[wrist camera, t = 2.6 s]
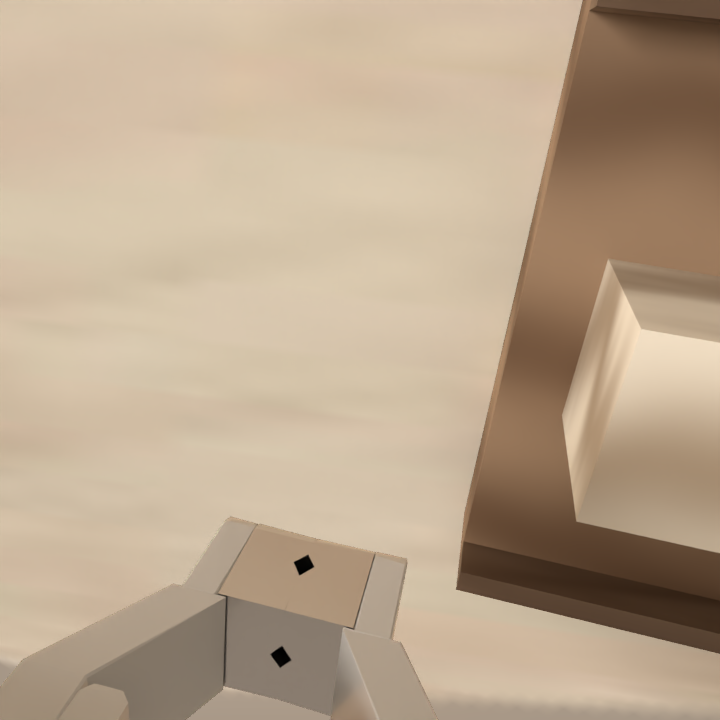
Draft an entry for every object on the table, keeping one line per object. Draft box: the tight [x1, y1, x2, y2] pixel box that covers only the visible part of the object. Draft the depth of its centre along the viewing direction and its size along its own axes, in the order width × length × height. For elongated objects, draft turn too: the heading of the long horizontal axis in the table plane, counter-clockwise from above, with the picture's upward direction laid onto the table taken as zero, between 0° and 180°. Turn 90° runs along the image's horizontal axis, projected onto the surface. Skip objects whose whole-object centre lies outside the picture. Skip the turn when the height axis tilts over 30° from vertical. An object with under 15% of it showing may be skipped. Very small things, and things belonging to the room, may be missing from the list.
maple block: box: [562, 259, 720, 553], centre depth 16 cm, size 5×5×5 cm
